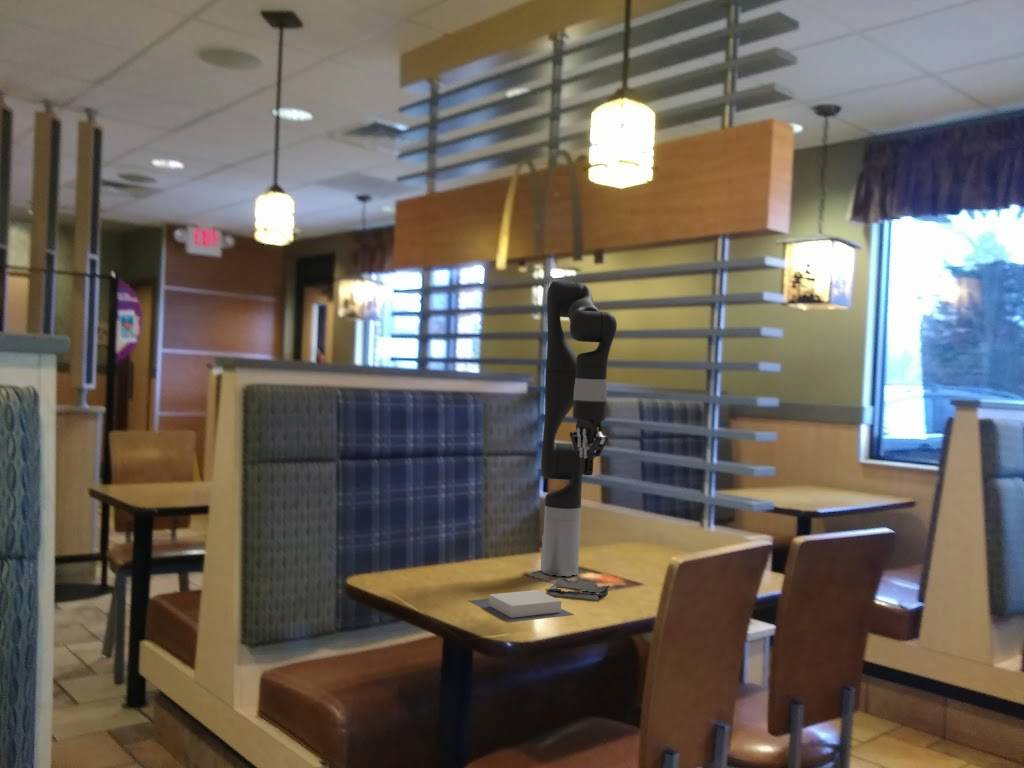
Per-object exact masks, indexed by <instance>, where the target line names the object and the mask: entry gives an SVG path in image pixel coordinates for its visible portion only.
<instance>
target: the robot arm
mask: <svg viewBox="0 0 1024 768" xmlns="http://www.w3.org/2000/svg"><path fill="white" fill-rule="evenodd" d="M546 313H547V314H546V320H547V322H546V323H547V329H546V330H547V342H546V343H547V344H546V345H547V347H546V359H545V360H546V362H545V363H546V364H545V377H544V379H545V382H544V424H543V435H542V443H541V453H540V454H541V455H540V470H541V475H542V477H543V478H544V479H547V480H549V479H550V480H567V481H569V482H568V484H567V485H566V486H564V487H562V488H559V489H558V490H555V491H550V492H548V493H546V495H545V497H544V498H545V499H544V518H543V521H544V523H543V533H542V535H541V555H540V556H541V559H540V560H541V561H540V570H541V572H542V573H543V574H544V573H545V575H547V574H548V575H547V576H552V575H556V576H555V577H562V576H566V577H573V576H572V575H575V576H577V575H579V560H580V536H581V514H582V511H581V510H582V487H583V476H592V475H593V472H594V459H595V458H598V457H600V456H601V454H602V451H603V450H604V448H605V446H606V444H607V443H608V441H609V440H608V439H609V437H608V436H607V435H604V433H602V432H603V427H602V421H606V419H607V396H608V386H607V376H608V375H607V374H608V373H607V368H608V360H609V359H608V358H609V356H610V351H611V347H612V344H613V342H614V339H615V335H616V331H617V327H618V324H617V319H616V317H615V316H614V314H613V313H611V312H609V311H600V310H599V309H598V308H597V306H595V303H594V299H593V295H592V291H591V290H590V287H589V286H588V285H587V284H586V283H583V282H577V281H561V280H556V281H554V280H553V281H551V282H550V283H549V285H548V288H547V295H546ZM561 318H568V319H569V332H570V333H569V334H570V335H571V337H572V339H573V340H575V341H578V342H582V343H586V342H587V343H598V345H597V348H596V349H595V350H591V351H586V352H581V353H579V354H578V355H576V354H575V352H574V351H573V348H572V347H571V346H570V344H569V342H568V341H567V340H568V339H567V338H566V336H565V333H564V331H563V327H562V322H561ZM571 409H572V418H573V420H576V423H575V430H574V431H570V432H569V437H570V439H571V442H572V443H564V442H563V443H560V442H555V440H556V437H557V436H556V435H557V433H558V430H559V428H560V427H561V424H562V423H563V421H564V419H565V417H566V416H567V415H568V413H569V412H570V411H571Z"/></svg>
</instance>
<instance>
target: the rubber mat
mask: <svg viewBox="0 0 1024 768" xmlns="http://www.w3.org/2000/svg"><path fill="white" fill-rule="evenodd" d="M468 602H470V603H471V604H473V605H476V606H477V607H480V608H481V609H483V610H484V611H487V612H488V613H490V614H492V615H493V616H495V617H496V618H499V619H501V620H503V621H505V622H506V623H516V622H524V621H525V622H526V621H532V620H533V621H535V620H541V619H549V618H551V619H552V618H558V617H559V618H560V617H569V616H575V614H574V613H571V612H570V611H567V610H565V609H563V608H561V612H559V613H550V614H541V615H531V616H522V617H513V618H511V617H509V616H507V615H505V614H503V613H502V612H500V611H498V610H496V609H494V608H492V607H490V606H489V598H482V599H472V600H471V599H470V600H468Z"/></svg>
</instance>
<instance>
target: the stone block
mask: <svg viewBox="0 0 1024 768" xmlns="http://www.w3.org/2000/svg"><path fill="white" fill-rule="evenodd" d="M488 599H489V606H490V607H492V608H494V609H496V610H498V611H500V612H502V613H503V614H505V615H507V616H509V617H511V618H513V617H522V616H531V615H541V614H550V613H559V612H561V609H562V600H560V599H558V598H555V597H554V596H553V595H548V594H547V593H544V592H542V591H541V590H538V589H532V590H523V591H512V592H502V593H501V592H500V593H491V594H489V595H488Z"/></svg>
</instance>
